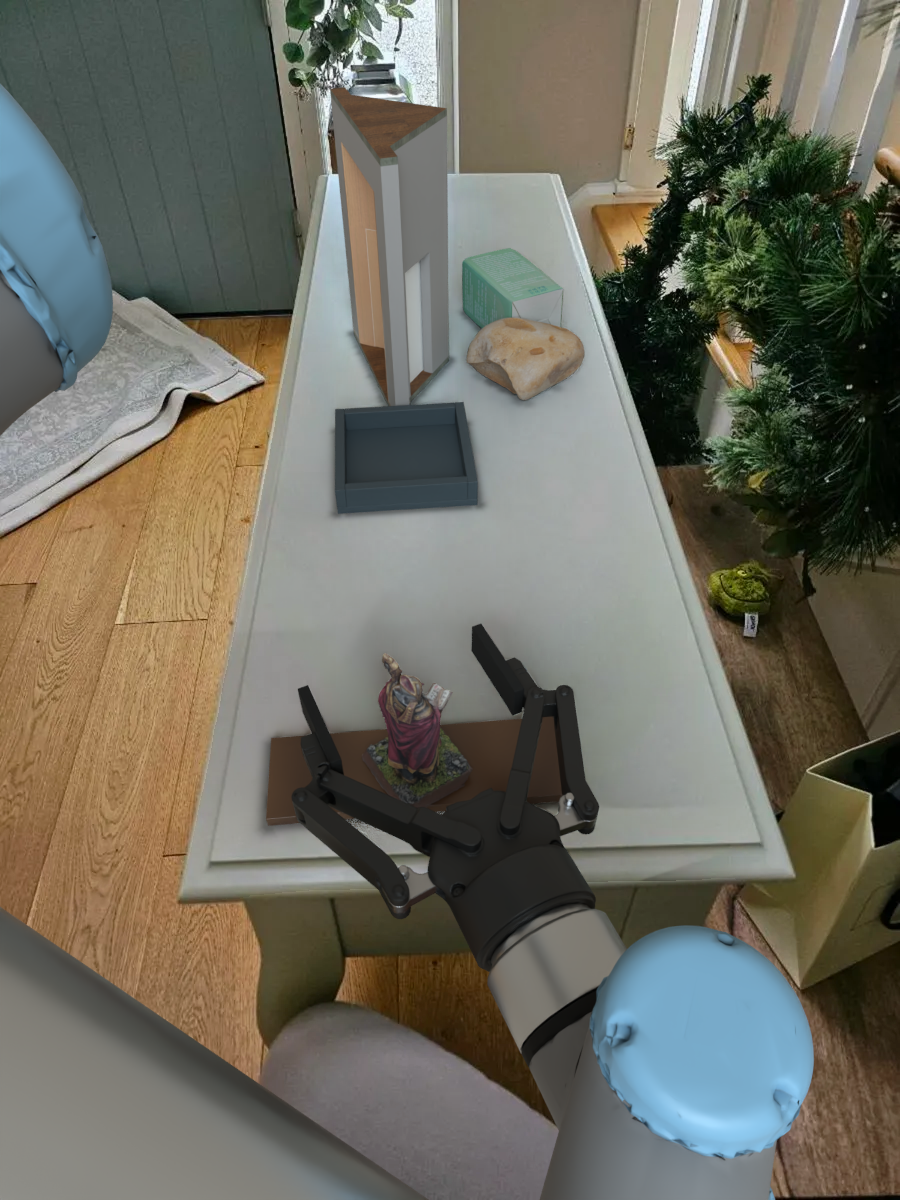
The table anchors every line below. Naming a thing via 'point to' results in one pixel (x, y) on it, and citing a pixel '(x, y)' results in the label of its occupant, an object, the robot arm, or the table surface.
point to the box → (508, 289)
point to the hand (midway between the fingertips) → (393, 666)
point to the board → (476, 741)
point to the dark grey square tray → (403, 458)
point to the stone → (525, 354)
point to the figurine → (415, 742)
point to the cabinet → (395, 236)
